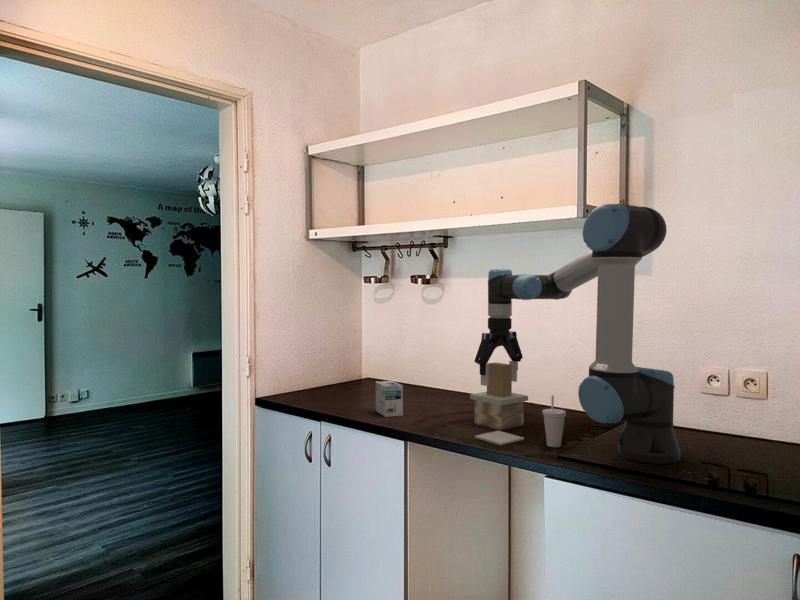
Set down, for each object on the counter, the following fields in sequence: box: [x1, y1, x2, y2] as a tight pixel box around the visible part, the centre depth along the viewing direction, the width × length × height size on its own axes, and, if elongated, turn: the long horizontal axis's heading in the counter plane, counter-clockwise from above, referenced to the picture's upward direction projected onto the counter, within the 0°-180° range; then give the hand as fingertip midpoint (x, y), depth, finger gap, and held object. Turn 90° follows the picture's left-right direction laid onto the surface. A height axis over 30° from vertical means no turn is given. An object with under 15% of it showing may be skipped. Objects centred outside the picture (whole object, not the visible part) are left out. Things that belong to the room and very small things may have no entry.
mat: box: [474, 430, 525, 446], centre depth 165 cm, size 10×10×1 cm
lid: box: [469, 362, 529, 406], centre depth 182 cm, size 13×13×12 cm
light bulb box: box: [375, 380, 404, 418], centre depth 197 cm, size 11×7×11 cm, turn 22°
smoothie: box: [541, 395, 567, 448], centre depth 158 cm, size 6×6×14 cm
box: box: [474, 400, 525, 431], centre depth 182 cm, size 11×11×8 cm
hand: (499, 383), depth 182 cm, fingers open, 13 cm apart
